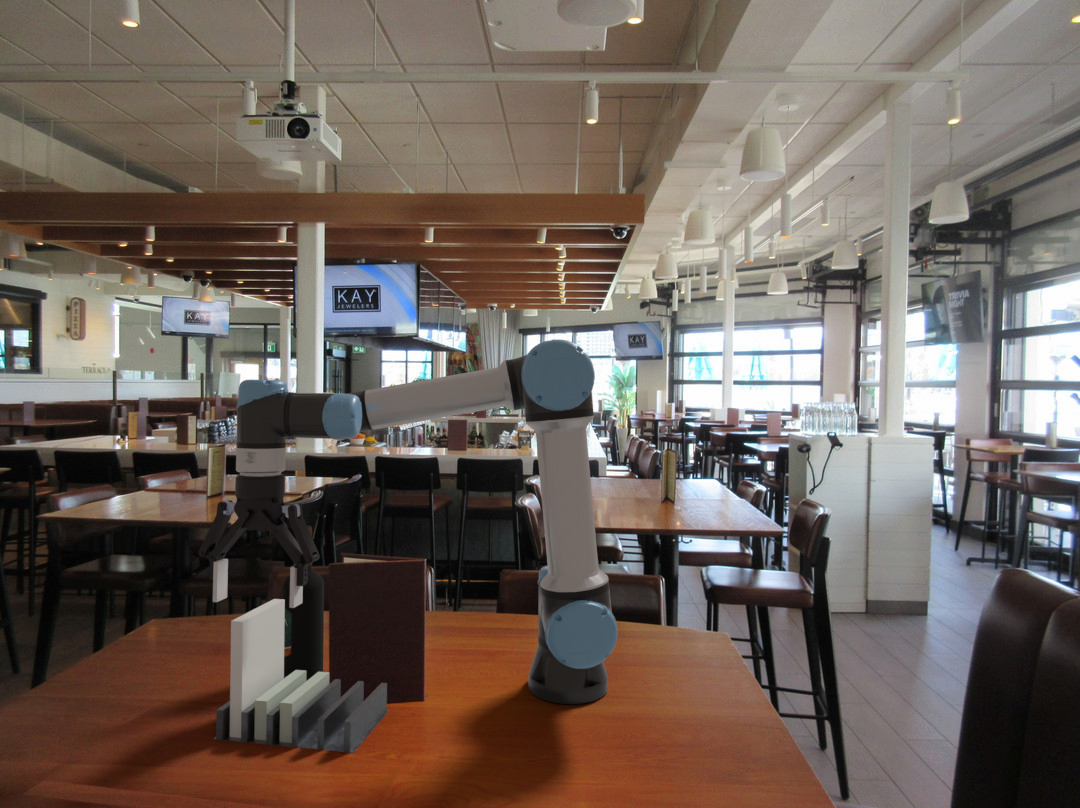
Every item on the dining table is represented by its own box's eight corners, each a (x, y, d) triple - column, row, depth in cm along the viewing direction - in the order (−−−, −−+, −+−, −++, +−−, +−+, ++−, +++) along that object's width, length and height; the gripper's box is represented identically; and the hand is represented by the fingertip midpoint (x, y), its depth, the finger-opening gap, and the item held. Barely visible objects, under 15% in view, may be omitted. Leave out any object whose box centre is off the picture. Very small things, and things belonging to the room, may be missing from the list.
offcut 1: (306, 705, 113) (306, 670, 113) (266, 740, 101) (266, 701, 101) (295, 704, 113) (295, 669, 113) (254, 739, 101) (254, 700, 101)
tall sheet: (283, 703, 113) (284, 599, 113) (241, 738, 101) (242, 621, 101) (272, 702, 114) (274, 598, 114) (229, 736, 102) (231, 620, 102)
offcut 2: (328, 707, 112) (329, 672, 112) (291, 742, 100) (292, 703, 100) (318, 706, 112) (318, 671, 112) (279, 741, 100) (279, 702, 100)
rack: (389, 718, 111) (389, 683, 111) (353, 762, 97) (353, 722, 97) (264, 707, 115) (265, 673, 115) (213, 748, 101) (213, 709, 101)
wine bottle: (309, 695, 120) (311, 531, 120) (272, 691, 122) (274, 529, 122) (330, 678, 127) (332, 524, 128) (295, 674, 129) (297, 522, 129)
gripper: (176, 472, 106) (173, 604, 106) (320, 478, 102) (317, 614, 102) (207, 468, 113) (204, 591, 113) (342, 474, 109) (339, 601, 109)
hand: (257, 602), depth 108 cm, fingers open, 13 cm apart
